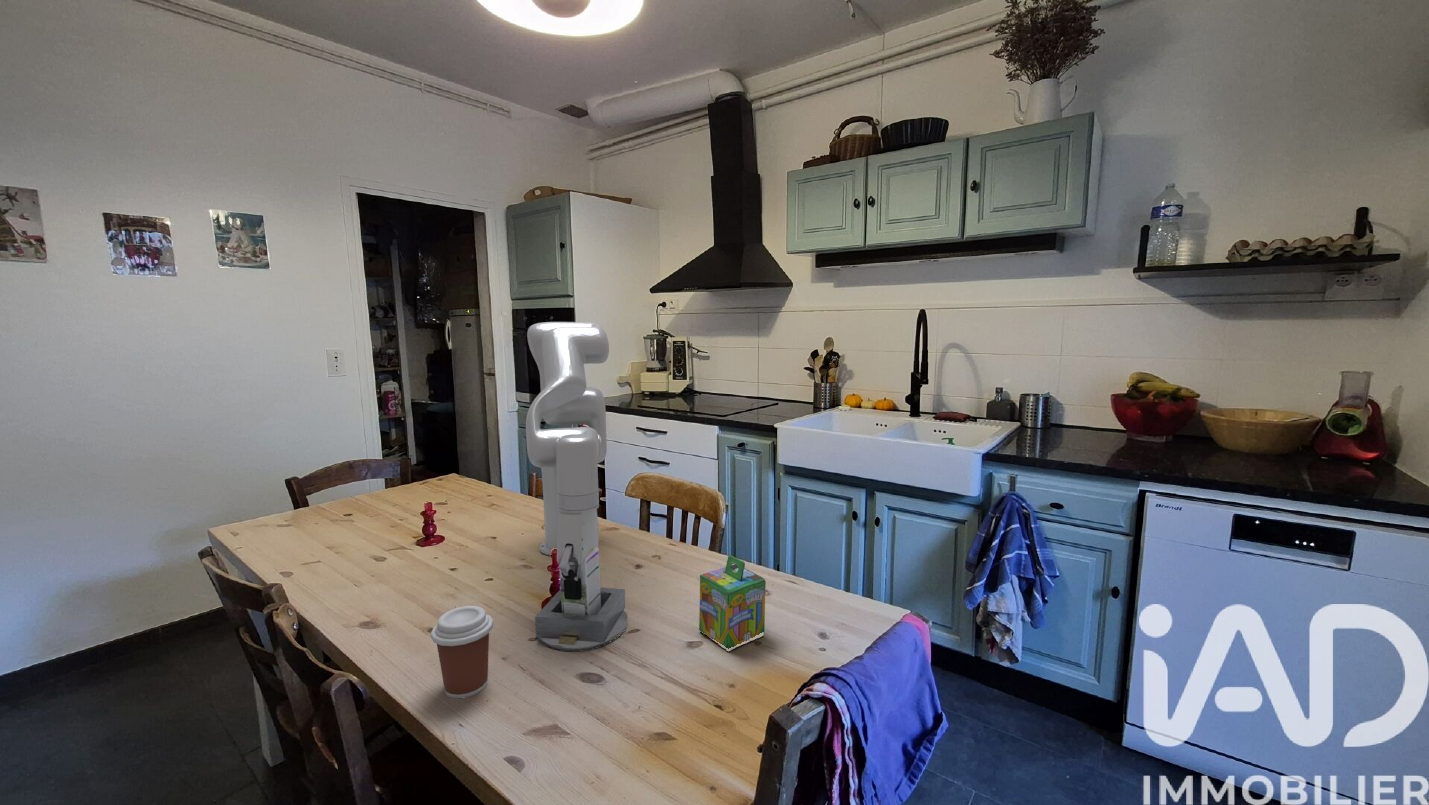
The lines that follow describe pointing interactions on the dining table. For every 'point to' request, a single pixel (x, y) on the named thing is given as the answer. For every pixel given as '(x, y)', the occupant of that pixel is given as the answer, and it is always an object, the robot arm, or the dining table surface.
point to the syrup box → (585, 587)
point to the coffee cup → (463, 649)
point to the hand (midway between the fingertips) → (581, 588)
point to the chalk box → (732, 603)
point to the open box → (582, 623)
